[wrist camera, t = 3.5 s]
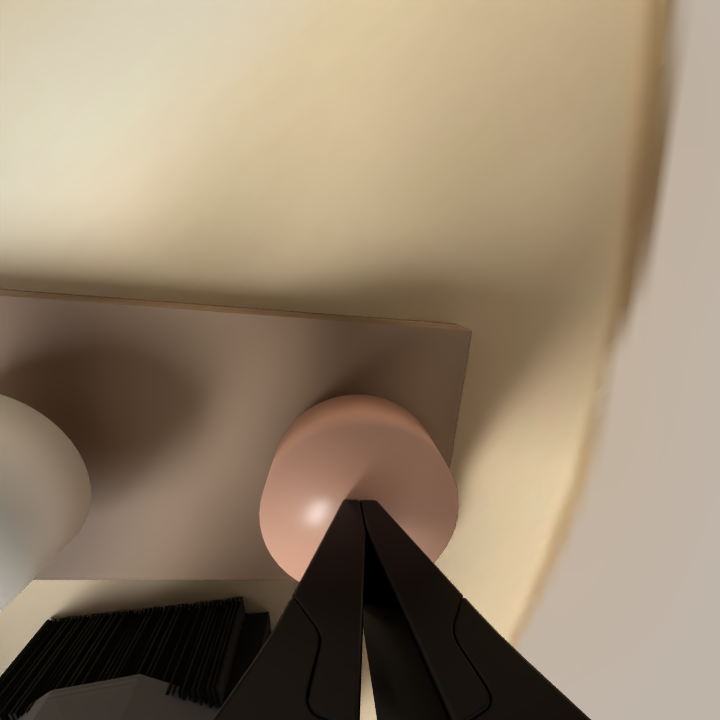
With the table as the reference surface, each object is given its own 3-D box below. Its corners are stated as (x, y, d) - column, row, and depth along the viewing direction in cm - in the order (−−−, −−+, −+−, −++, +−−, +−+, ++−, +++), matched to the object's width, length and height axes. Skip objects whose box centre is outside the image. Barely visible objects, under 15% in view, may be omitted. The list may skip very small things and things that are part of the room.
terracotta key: (271, 539, 11) (257, 596, 9) (275, 389, 10) (260, 418, 8) (424, 541, 11) (443, 595, 9) (446, 398, 10) (473, 428, 8)
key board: (-322, 539, 11) (-419, 579, 10) (-450, 255, 9) (-597, 251, 8) (420, 547, 14) (431, 580, 12) (454, 323, 12) (471, 330, 10)
